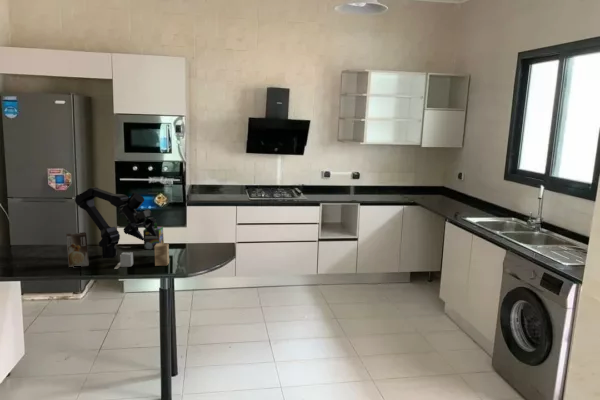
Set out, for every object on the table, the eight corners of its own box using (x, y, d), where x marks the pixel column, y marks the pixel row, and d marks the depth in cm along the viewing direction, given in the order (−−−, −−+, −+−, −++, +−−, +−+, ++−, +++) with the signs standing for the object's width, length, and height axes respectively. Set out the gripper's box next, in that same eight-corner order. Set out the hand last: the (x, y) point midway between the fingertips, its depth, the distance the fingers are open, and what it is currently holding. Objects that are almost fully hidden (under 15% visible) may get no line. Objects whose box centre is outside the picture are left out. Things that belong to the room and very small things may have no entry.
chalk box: (164, 245, 279) (163, 220, 277) (160, 249, 270) (159, 224, 268) (148, 245, 279) (147, 220, 277) (143, 249, 270) (142, 224, 268)
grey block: (120, 266, 236) (120, 255, 235) (122, 264, 241) (122, 252, 240) (131, 266, 236) (130, 255, 235) (133, 263, 241) (132, 252, 240)
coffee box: (88, 262, 243) (86, 231, 241) (89, 265, 238) (87, 234, 235) (68, 264, 239) (66, 233, 237) (68, 268, 234) (66, 236, 231)
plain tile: (113, 269, 233) (113, 268, 233) (119, 263, 243) (119, 262, 243) (135, 268, 234) (135, 268, 234) (139, 262, 244) (139, 262, 244)
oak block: (155, 265, 238) (154, 246, 237) (157, 262, 244) (156, 243, 243) (167, 265, 239) (166, 246, 237) (169, 262, 245) (168, 243, 243)
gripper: (127, 207, 233) (145, 231, 231) (152, 202, 250) (170, 224, 248) (115, 221, 238) (133, 245, 235) (141, 215, 255) (158, 237, 252)
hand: (149, 238), depth 242 cm, fingers open, 9 cm apart
